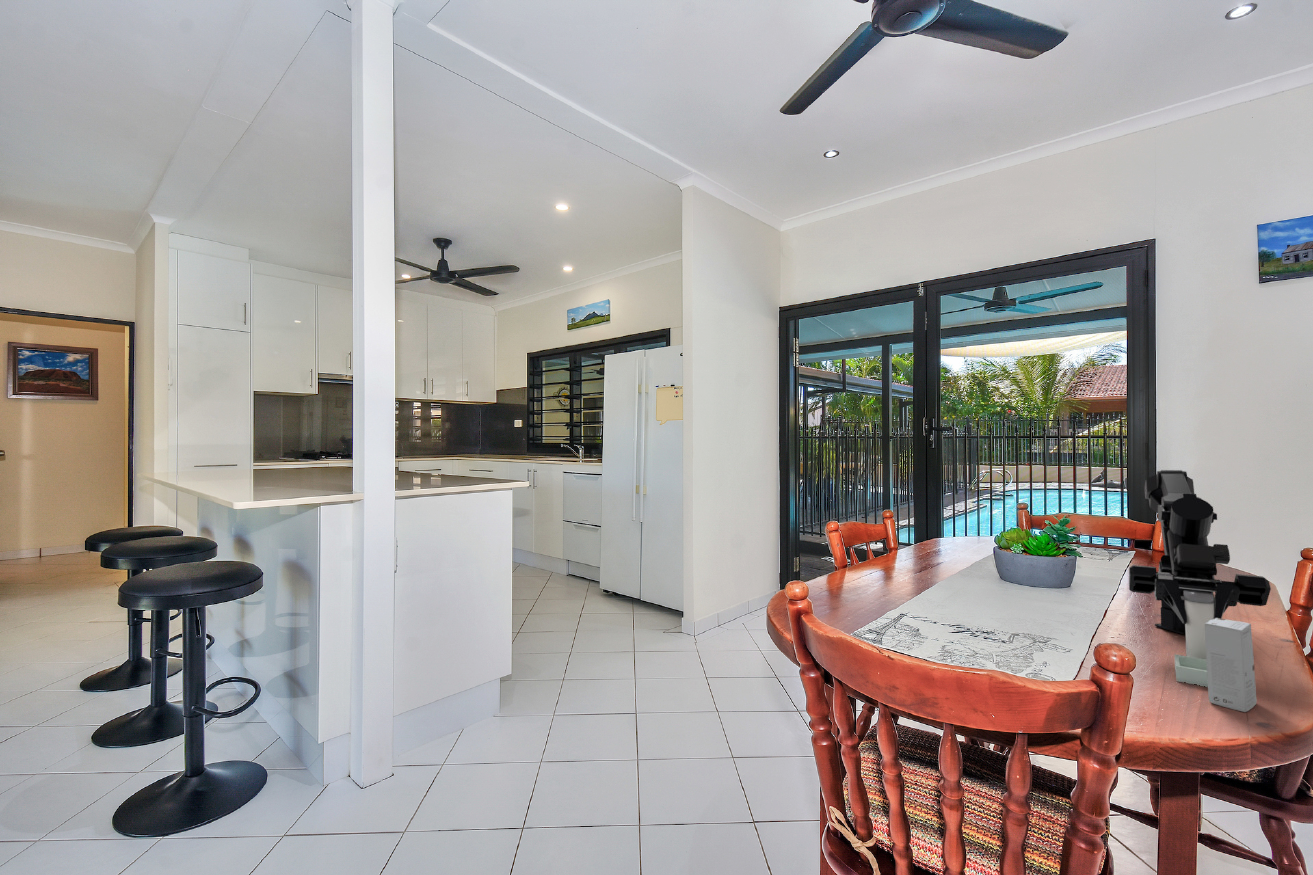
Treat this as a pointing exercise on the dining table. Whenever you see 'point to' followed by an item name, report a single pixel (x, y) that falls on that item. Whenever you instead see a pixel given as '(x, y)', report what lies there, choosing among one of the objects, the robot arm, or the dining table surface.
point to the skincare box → (1230, 664)
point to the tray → (1191, 670)
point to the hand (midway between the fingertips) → (1200, 624)
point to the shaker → (1197, 621)
